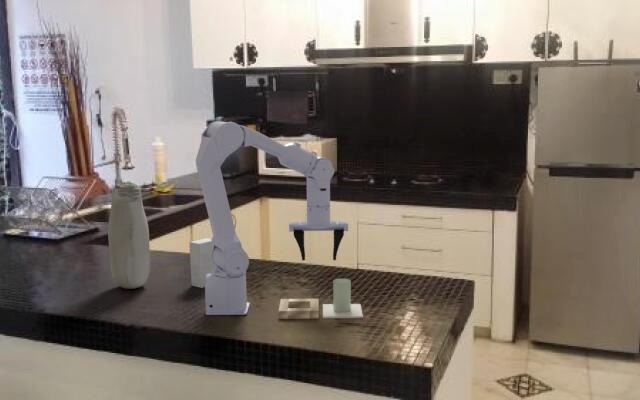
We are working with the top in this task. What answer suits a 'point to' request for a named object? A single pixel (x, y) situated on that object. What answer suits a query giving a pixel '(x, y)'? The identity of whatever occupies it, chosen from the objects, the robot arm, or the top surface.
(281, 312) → the pocket holder
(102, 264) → the top surface
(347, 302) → the sage peg
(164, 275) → the top surface
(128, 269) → the pale grey-green bottle
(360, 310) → the pad
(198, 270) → the skincare box
